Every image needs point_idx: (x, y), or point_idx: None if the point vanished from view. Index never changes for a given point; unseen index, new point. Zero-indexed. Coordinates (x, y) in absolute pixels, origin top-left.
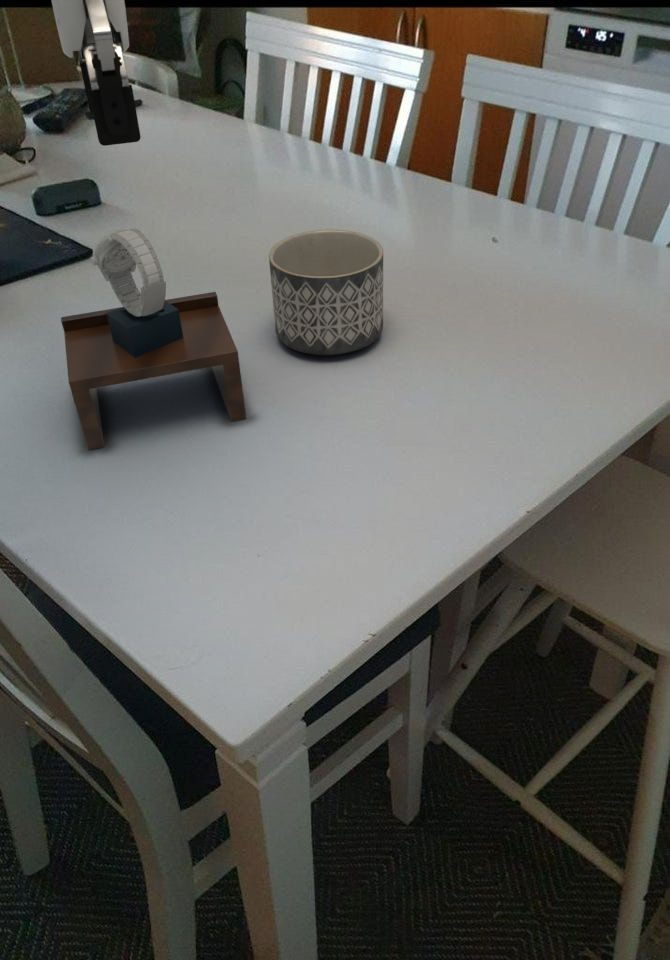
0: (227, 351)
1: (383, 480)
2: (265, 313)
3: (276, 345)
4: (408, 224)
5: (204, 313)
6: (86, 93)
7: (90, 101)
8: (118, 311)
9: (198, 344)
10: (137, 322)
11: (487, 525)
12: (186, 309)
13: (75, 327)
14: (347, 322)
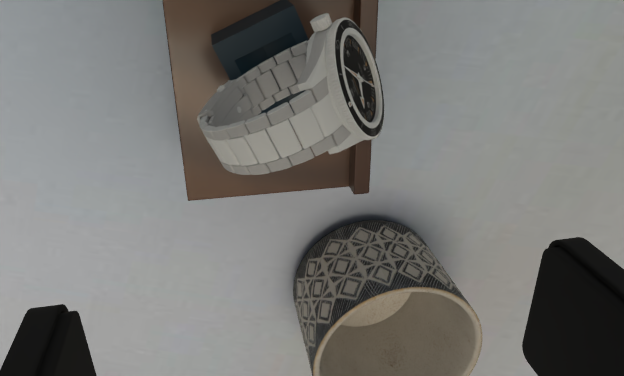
0: (190, 186)
1: (22, 283)
2: (453, 208)
3: (363, 211)
4: None
5: (330, 163)
6: (610, 282)
7: (572, 273)
8: (292, 30)
9: None
10: (232, 65)
11: None
12: None
13: None
14: (300, 323)
